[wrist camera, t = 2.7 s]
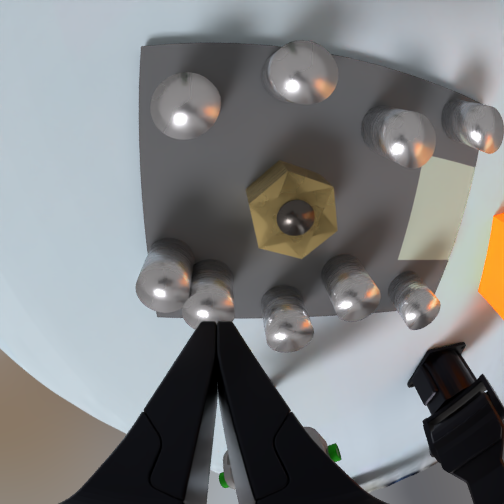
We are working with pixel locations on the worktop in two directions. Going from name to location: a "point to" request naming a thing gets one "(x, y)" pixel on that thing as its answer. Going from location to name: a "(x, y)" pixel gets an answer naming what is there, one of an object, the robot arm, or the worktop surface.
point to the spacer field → (338, 267)
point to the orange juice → (494, 267)
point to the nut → (292, 210)
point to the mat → (305, 156)
